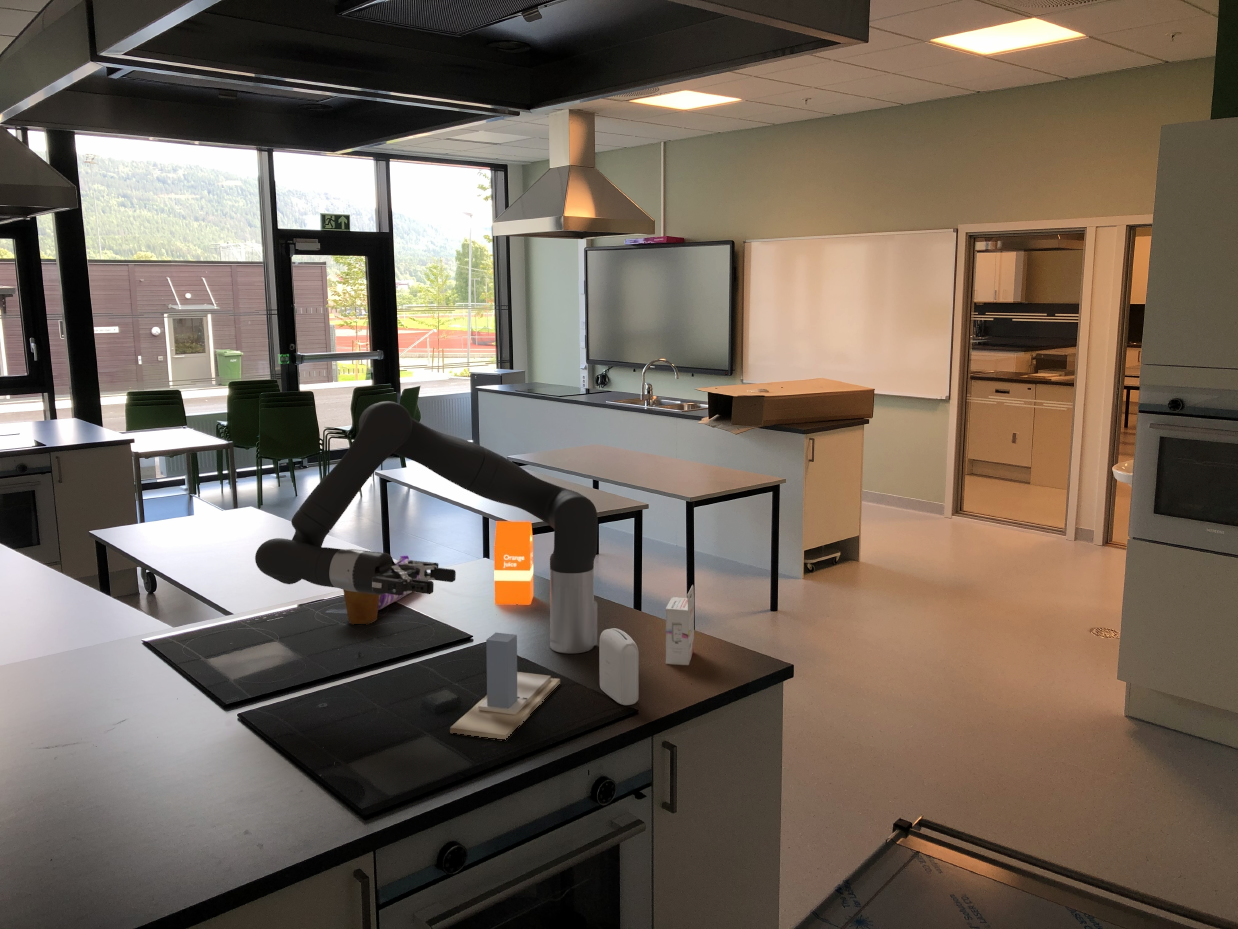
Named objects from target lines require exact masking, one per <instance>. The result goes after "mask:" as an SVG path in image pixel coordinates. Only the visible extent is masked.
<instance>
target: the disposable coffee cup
mask: <svg viewBox="0 0 1238 929" xmlns="http://www.w3.org/2000/svg"><path fill="white" fill-rule="evenodd" d="M342 590H343V589H342ZM343 596H344V602H345V608H346V612H347V613H346V614H347V620H348V623H349V622H350V623H352V624H351V625H354V624H366V623H371V622H373V621H375V620H378V612H379V610H378V603H379V595H376V594H368V593H361V592H353V591H347V590H343ZM350 623H349V624H350ZM371 624H372V623H371ZM366 625H367V624H366Z"/></svg>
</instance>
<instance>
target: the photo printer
mask: <svg viewBox="0 0 1238 929" xmlns="http://www.w3.org/2000/svg"><path fill="white" fill-rule="evenodd" d="M598 640H599V645H598V646H599V648H598V650H599V654H598V655H599V663H598V664H599V668H598V669H599V674H598V675H599V676H598V677H599V687H600V689H601V691H602V692H604V693H605V695H607V696H608V697H609V698H610V699H613V700H614V701H615V702H616V703H617V704H620V705H623V706H630V705H634V704H636V703H637V702H638V701H639V648H638V645H637V643H636V642H635V641H634V640H633V638H632V637H631V636H630V635H629V634H628V633H626V632H625V631H624V630H622V629H619V628H612V627H611V628H607V629H604V630H602V632H601V634H600V636H599V639H598Z"/></svg>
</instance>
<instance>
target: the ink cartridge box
mask: <svg viewBox="0 0 1238 929" xmlns="http://www.w3.org/2000/svg"><path fill="white" fill-rule="evenodd" d="M686 595H687V596H686V597H677V596H675V597H673V596H672V597H671V598H670V601H669V602H668V604H667V605H666V607H665V664H666V665H679V666H689V665H690V662H691V659H692V656H693V653H694V640H695V634H694V633H695V588H694V584H692V585H691V587H690V589H689V591H688V593H687V594H686Z"/></svg>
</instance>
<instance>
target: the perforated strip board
mask: <svg viewBox="0 0 1238 929" xmlns="http://www.w3.org/2000/svg"><path fill="white" fill-rule="evenodd" d="M559 684H560V685H561V678H557V677H556V678H555V677H554V678H553V677H552V675H546V674H539V673H530V672H522V671H517V699H523V700H526V705H525V706H524V707H523V708H522V709H521V710H520V711H519V712H518V713H517V714H516V715H513V714H506V713H498V712H491V711H483V710H478V706H479V705H480V704H481V703H482V702H483V701H484V700H485V699H487V694H486V695H485V696H484V697H482V699H481V700H479V701H478V702H477V703H476V704H475V705H473V707H472V708H470V709H469V710H468V711H467V712H465V714H464V715H463V716H461V717H460V718H459V719H458V720H457V721H456V722H455V723H453V725H451V726H450V727H449V732H450V734H453V733H457V734H456V735H460V734H464V735H463V736H467V735H471V736H470V737H474V736H479V737H478V738H481V737H488V738H497V739H505V740H506V738H508V736H510V734H512V732H513V731H514V730H515V729H516V728H517V727H518V726H519V725H520V726H522V725H523V723H524V722H525V721H526V720H527V719H528V718H529V717H530V716H531V715H532V714H533V713H534V712H535V711H536V710H537V709H538V708H539V707H540V706H541V705H542V703H543V702H544V701H545V700H546V699H547V698H548V697H549V696H550V695H551V694H552V693H553V692H554V691H555V690H556V689H557V688H558V687H559V686H560V685H559ZM558 685H559V686H558ZM557 686H558V687H557ZM556 687H557V688H556ZM555 688H556V689H555ZM554 689H555V690H554ZM553 690H554V691H553ZM552 691H553V692H552ZM551 692H552V693H551ZM550 693H551V694H550ZM549 694H550V695H549ZM548 695H549V696H548ZM547 696H548V697H547ZM546 697H547V698H546ZM545 698H546V699H545ZM544 699H545V700H544ZM542 701H543V702H542ZM539 705H540V706H539ZM538 706H539V707H538ZM537 707H538V708H537ZM536 708H537V709H536ZM535 709H536V710H535ZM534 710H535V711H534ZM533 711H534V712H533ZM532 712H533V713H532ZM531 713H532V714H531ZM530 714H531V715H530ZM523 721H524V722H523ZM520 726H519V727H520ZM519 727H518V728H519ZM512 735H513V734H512ZM510 737H511V736H510ZM488 738H487V739H488ZM508 739H509V738H508ZM506 741H507V740H506Z"/></svg>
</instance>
